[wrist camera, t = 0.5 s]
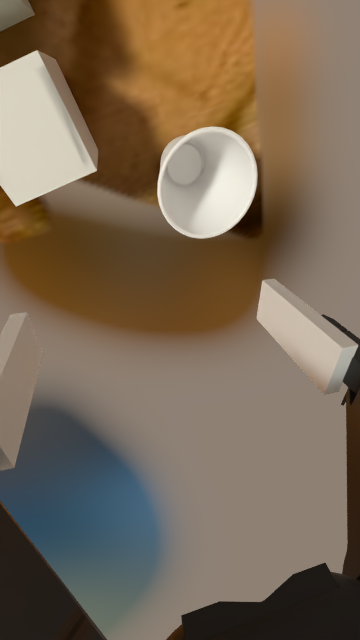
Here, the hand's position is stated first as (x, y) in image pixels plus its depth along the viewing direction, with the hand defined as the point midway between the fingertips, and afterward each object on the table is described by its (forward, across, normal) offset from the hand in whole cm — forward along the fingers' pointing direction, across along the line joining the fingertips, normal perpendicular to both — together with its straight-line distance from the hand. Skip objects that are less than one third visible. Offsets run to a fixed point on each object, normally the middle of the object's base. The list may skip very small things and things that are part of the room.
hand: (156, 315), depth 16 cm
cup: (+25, +8, +6) cm, 27 cm away
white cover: (+25, -7, +10) cm, 28 cm away
